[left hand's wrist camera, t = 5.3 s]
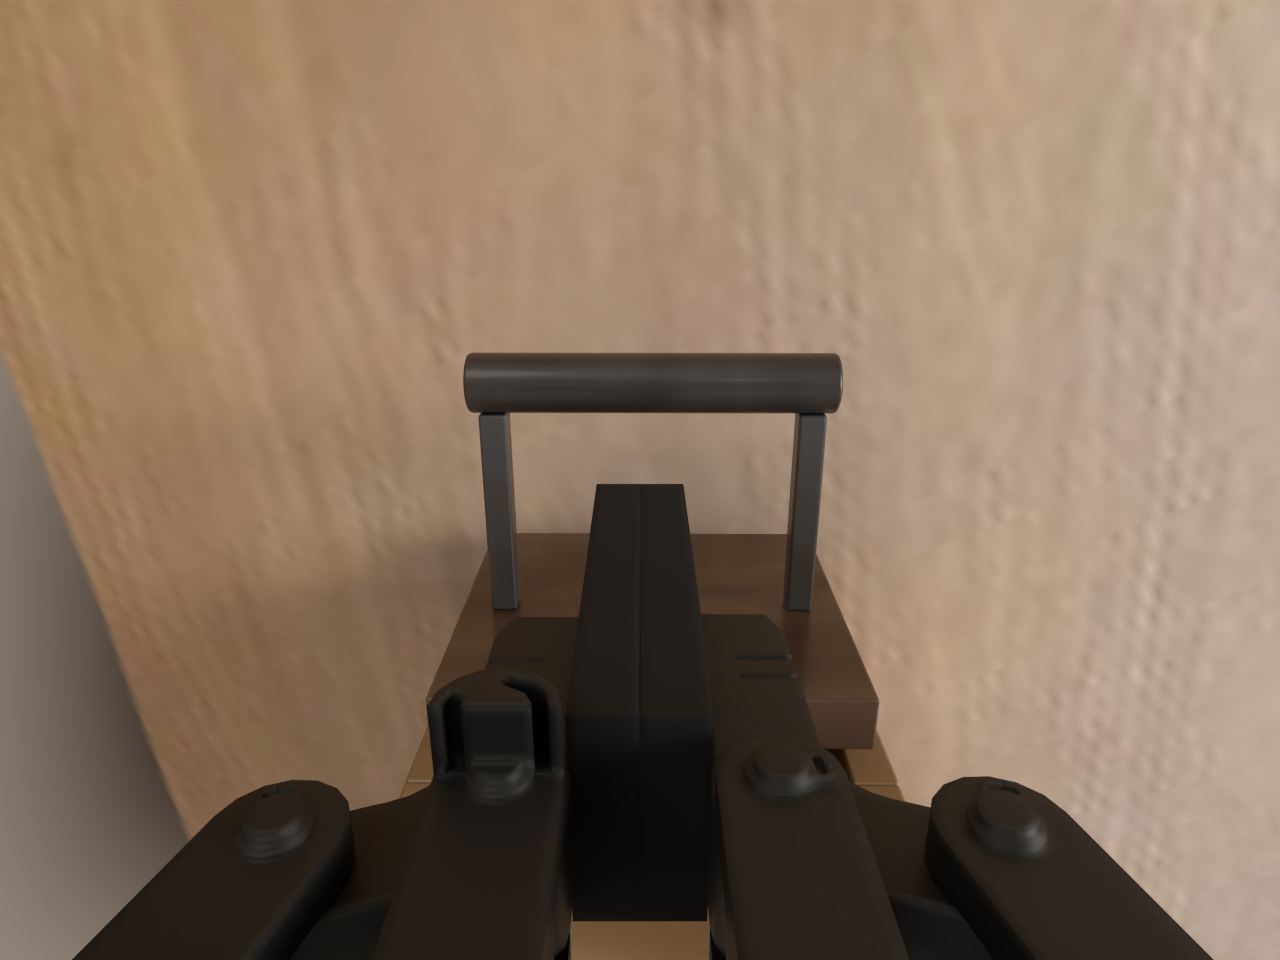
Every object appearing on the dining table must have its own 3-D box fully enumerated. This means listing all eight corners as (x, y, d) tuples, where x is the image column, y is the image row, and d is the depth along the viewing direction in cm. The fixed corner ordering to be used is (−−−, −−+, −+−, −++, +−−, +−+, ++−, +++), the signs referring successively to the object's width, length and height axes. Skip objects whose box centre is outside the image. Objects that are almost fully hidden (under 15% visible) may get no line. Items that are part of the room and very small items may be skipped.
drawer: (479, 319, 22) (392, 399, 14) (824, 319, 22) (916, 401, 14) (521, 944, 29) (479, 1205, 22) (776, 946, 29) (818, 1208, 22)
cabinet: (483, 579, 25) (391, 815, 16) (817, 580, 25) (914, 818, 16) (513, 985, 31) (459, 1324, 22) (783, 987, 31) (839, 1328, 22)
